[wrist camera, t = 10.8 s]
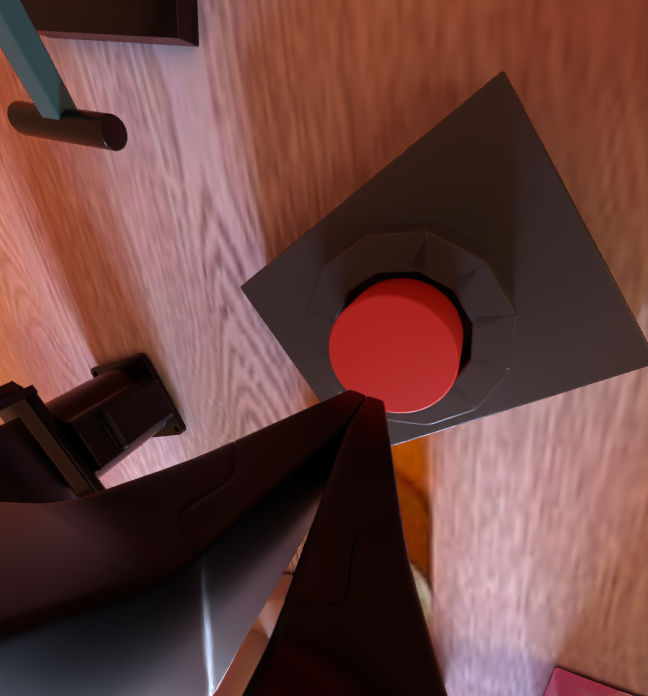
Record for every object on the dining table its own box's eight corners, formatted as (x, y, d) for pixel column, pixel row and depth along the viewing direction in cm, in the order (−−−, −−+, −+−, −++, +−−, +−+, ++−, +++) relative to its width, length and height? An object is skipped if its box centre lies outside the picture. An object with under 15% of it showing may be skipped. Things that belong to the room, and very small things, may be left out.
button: (385, 399, 14) (371, 428, 12) (327, 312, 13) (304, 332, 12) (486, 358, 12) (486, 387, 10) (422, 253, 11) (411, 267, 10)
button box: (372, 427, 20) (345, 486, 16) (267, 274, 18) (210, 300, 15) (633, 334, 13) (688, 396, 10) (501, 86, 12) (505, 48, 8)
